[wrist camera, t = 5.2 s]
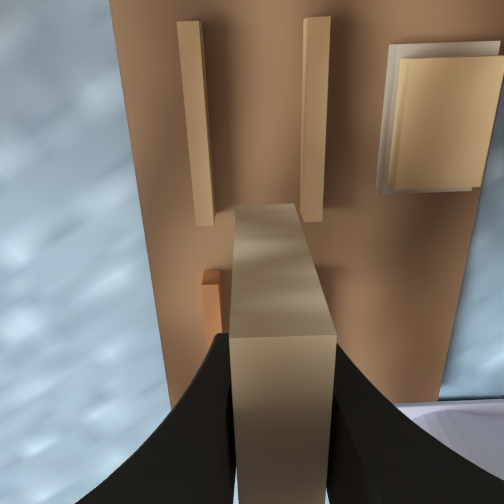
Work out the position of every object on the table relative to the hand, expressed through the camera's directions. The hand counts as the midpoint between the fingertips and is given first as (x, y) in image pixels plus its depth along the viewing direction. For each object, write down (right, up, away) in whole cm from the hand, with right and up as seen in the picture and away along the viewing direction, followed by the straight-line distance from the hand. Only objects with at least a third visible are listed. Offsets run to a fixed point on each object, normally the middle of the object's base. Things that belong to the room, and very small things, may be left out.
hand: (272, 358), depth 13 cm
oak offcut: (+7, +9, +5) cm, 12 cm away
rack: (+2, +4, +9) cm, 11 cm away
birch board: (0, +2, +3) cm, 4 cm away
